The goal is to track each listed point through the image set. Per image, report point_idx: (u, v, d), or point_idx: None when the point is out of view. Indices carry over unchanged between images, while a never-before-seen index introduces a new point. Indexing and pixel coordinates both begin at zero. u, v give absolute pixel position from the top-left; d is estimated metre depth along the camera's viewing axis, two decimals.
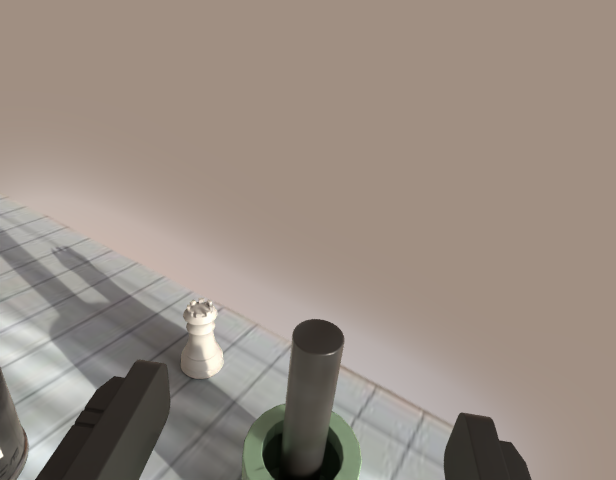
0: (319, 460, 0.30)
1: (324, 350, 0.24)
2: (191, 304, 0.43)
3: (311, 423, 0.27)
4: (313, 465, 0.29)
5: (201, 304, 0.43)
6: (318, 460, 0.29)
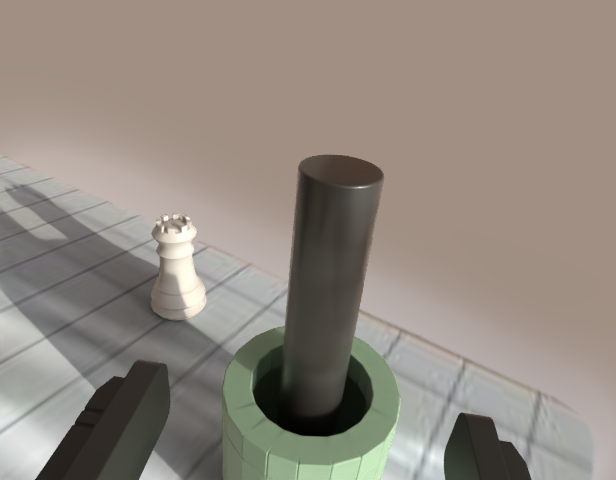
0: (338, 393, 0.20)
1: (352, 181, 0.14)
2: (163, 219, 0.33)
3: (328, 324, 0.17)
4: (330, 400, 0.19)
5: (175, 220, 0.33)
6: (337, 394, 0.19)
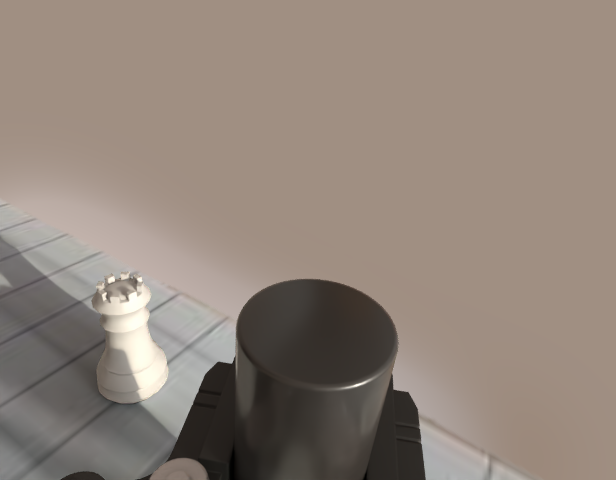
0: None
1: (338, 371, 0.07)
2: (107, 281, 0.26)
3: None
4: None
5: (124, 281, 0.26)
6: None
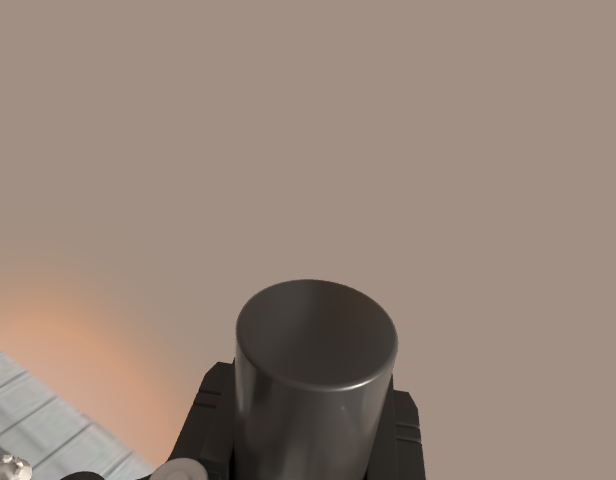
0: None
1: (337, 372, 0.07)
2: None
3: None
4: None
5: (6, 466, 0.29)
6: None
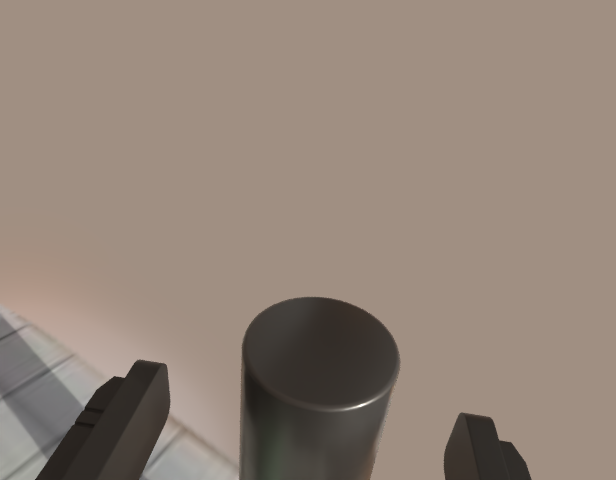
0: None
1: (341, 392, 0.07)
2: None
3: None
4: None
5: None
6: None
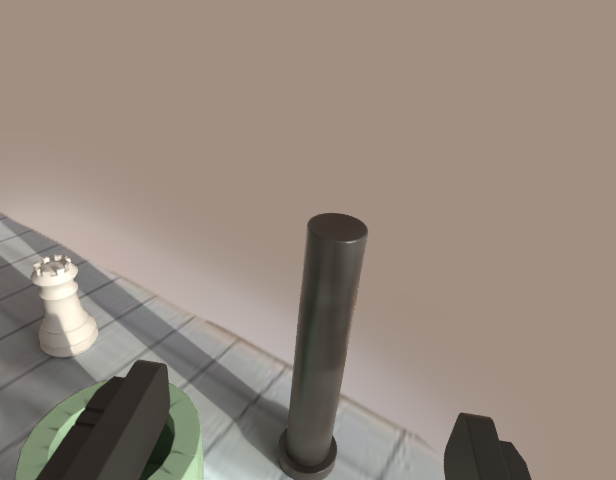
0: (336, 387, 0.26)
1: (345, 238, 0.21)
2: (43, 261, 0.34)
3: (329, 335, 0.23)
4: (330, 392, 0.26)
5: (56, 262, 0.34)
6: (336, 388, 0.26)
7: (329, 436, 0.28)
